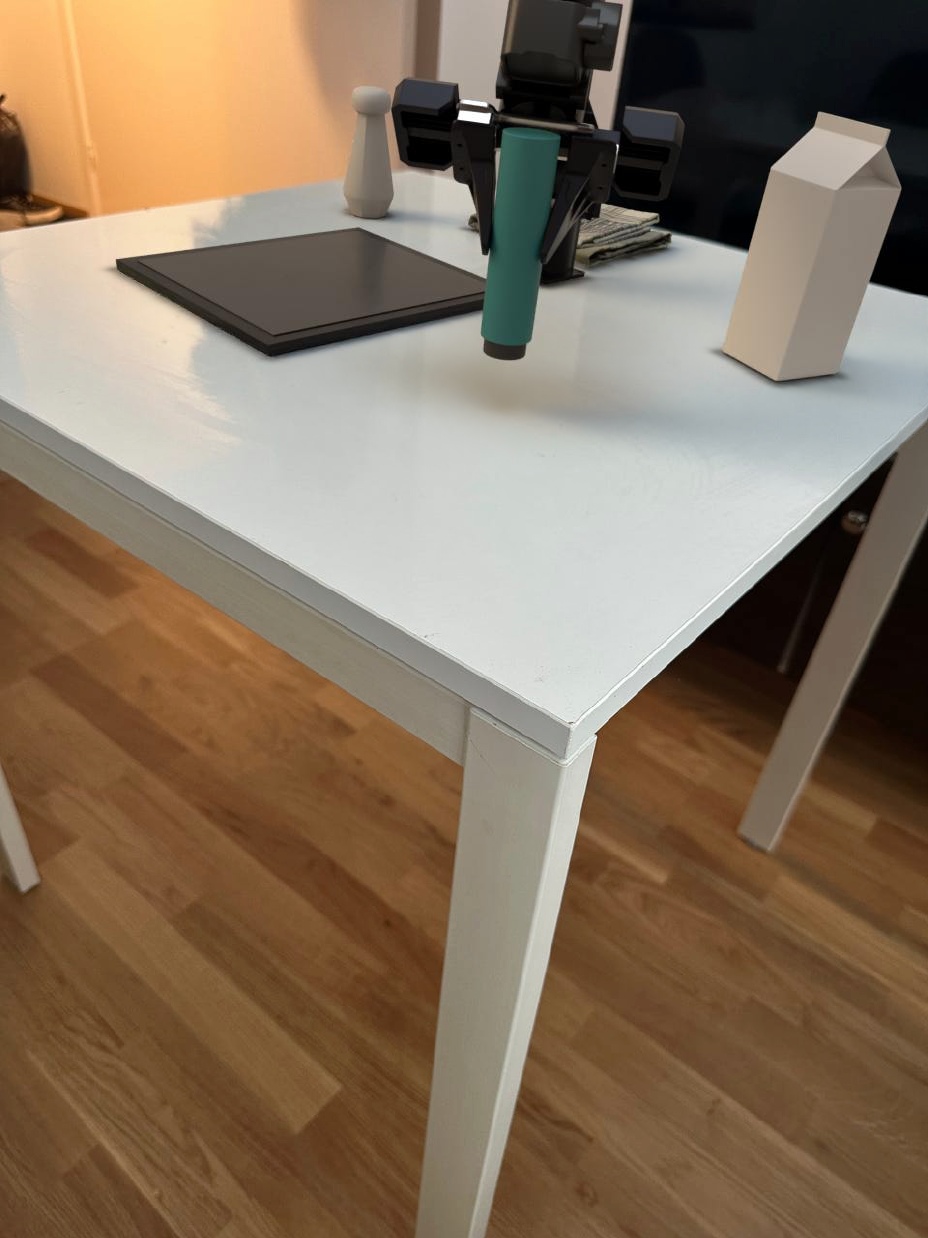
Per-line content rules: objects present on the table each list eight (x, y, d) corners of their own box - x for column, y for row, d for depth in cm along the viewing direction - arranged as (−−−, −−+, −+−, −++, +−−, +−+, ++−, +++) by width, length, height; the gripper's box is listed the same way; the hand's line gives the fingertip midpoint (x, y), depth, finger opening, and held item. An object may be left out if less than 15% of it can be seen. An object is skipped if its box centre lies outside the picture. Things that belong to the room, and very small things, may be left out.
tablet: (358, 235, 100) (358, 225, 100) (517, 301, 88) (519, 290, 87) (116, 268, 84) (115, 257, 83) (269, 356, 71) (269, 343, 70)
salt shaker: (401, 214, 110) (407, 89, 102) (377, 222, 105) (382, 93, 98) (358, 204, 111) (361, 81, 104) (333, 212, 107) (335, 84, 99)
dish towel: (461, 228, 107) (464, 198, 105) (554, 211, 119) (558, 184, 117) (591, 271, 98) (596, 239, 96) (678, 248, 109) (684, 219, 108)
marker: (509, 341, 67) (537, 127, 59) (539, 358, 65) (572, 138, 57) (468, 346, 66) (491, 127, 57) (497, 365, 63) (525, 139, 55)
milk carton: (775, 383, 77) (855, 128, 65) (720, 352, 82) (785, 110, 70) (836, 375, 80) (922, 130, 68) (779, 345, 85) (851, 112, 73)
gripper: (406, -80, 55) (353, 155, 53) (719, -42, 54) (679, 201, 51) (423, 61, 66) (380, 260, 64) (683, 95, 65) (649, 301, 62)
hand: (513, 256), depth 60 cm, fingers closed on marker, 3 cm apart
